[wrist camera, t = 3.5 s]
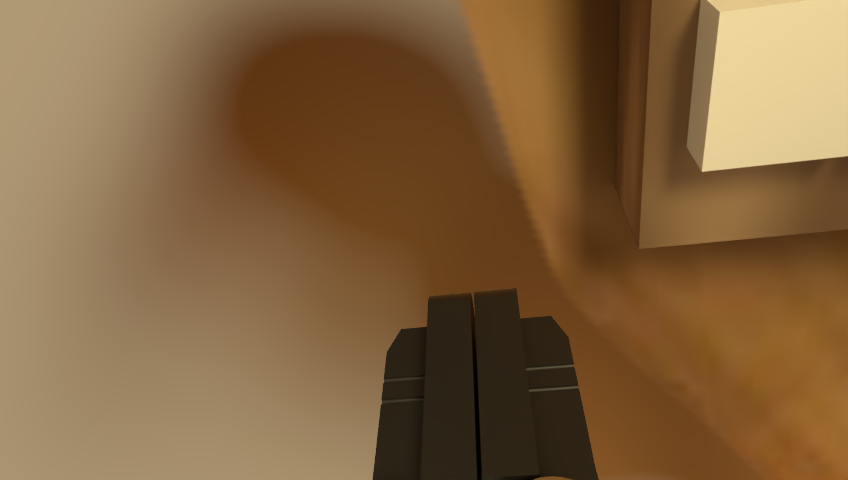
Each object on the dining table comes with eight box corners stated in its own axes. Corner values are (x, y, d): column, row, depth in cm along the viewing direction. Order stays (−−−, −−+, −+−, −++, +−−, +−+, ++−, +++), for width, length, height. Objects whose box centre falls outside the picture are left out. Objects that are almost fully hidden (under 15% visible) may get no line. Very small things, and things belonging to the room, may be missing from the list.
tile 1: (885, -31, 16) (919, -15, 15) (845, 128, 19) (871, 153, 18) (701, -6, 17) (720, 12, 16) (686, 146, 19) (701, 171, 18)
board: (1101, -259, 17) (1256, -265, 13) (951, 151, 24) (1029, 212, 20) (624, -176, 18) (660, -164, 15) (615, 187, 25) (639, 249, 22)
